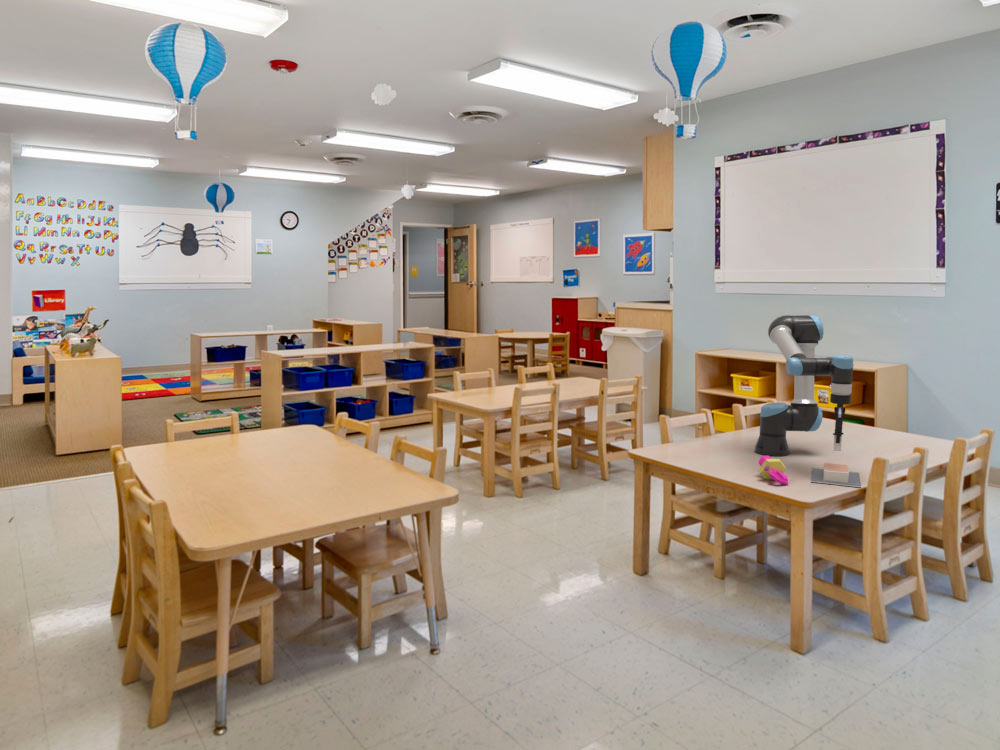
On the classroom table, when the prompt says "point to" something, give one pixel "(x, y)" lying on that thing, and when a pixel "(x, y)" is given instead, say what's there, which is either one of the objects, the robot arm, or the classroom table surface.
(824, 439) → the classroom table surface
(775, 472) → the toy
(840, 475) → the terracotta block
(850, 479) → the slate mat
